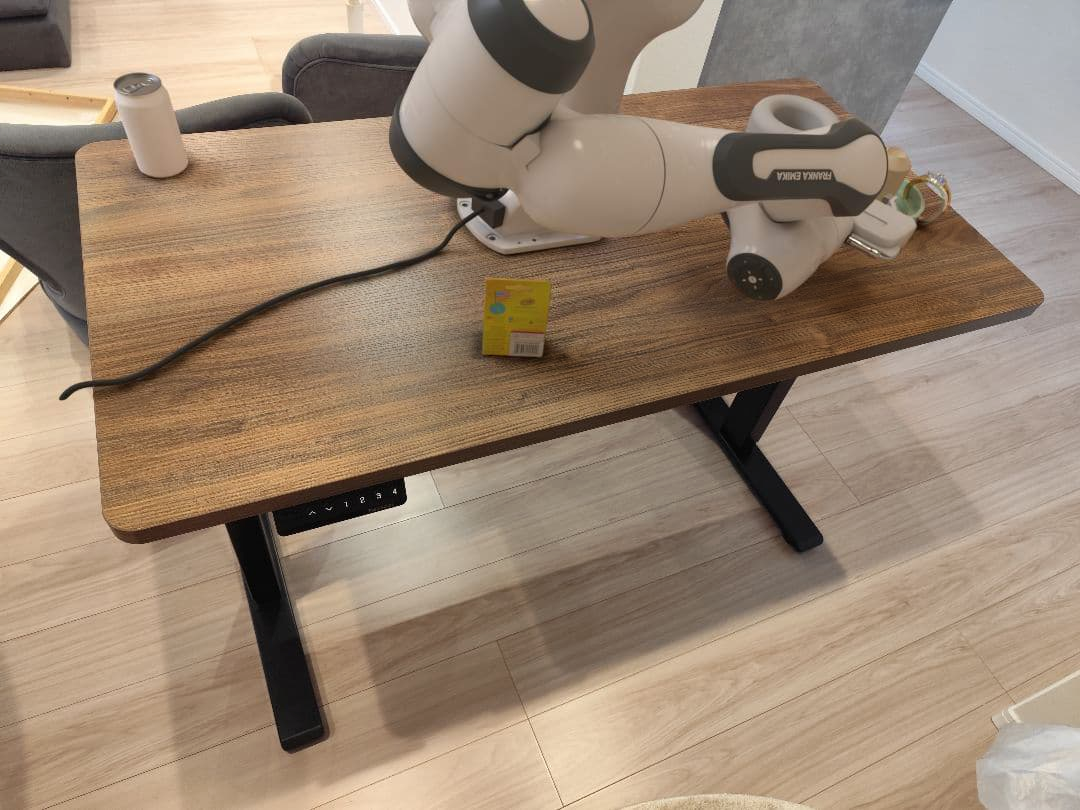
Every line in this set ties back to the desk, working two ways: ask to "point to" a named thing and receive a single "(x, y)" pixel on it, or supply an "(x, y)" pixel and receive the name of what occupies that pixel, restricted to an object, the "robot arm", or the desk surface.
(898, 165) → the candle
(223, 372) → the desk surface
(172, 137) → the can
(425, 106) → the robot arm
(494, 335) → the crayon box
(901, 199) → the bowl
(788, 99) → the donut shape
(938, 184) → the ring
